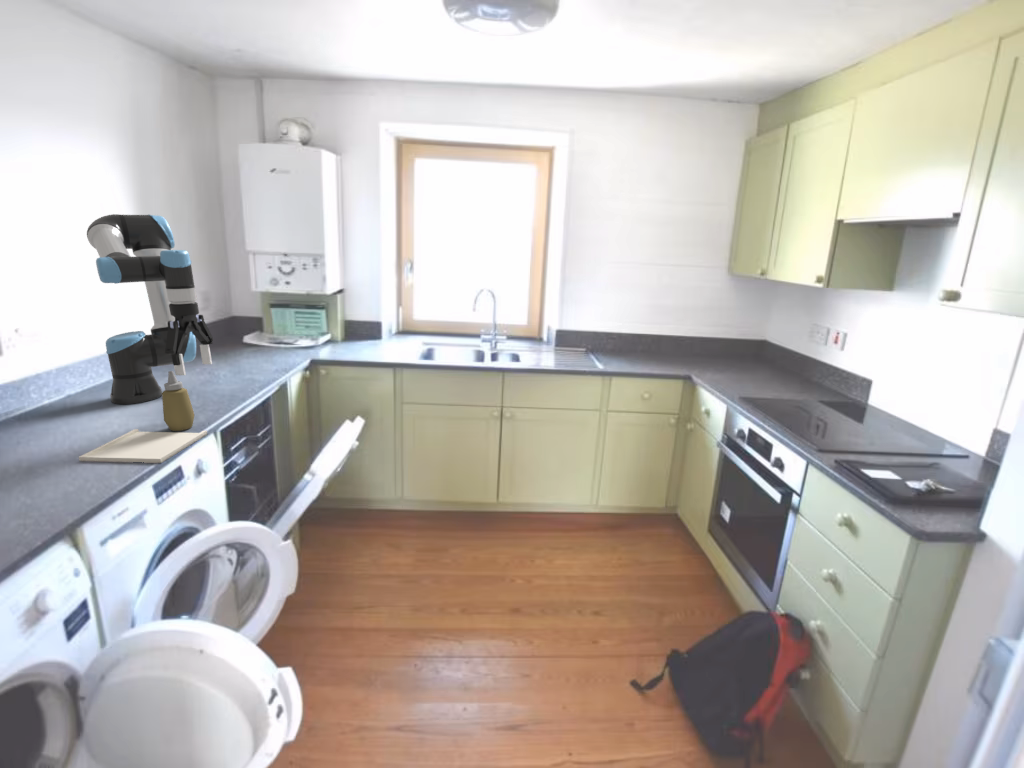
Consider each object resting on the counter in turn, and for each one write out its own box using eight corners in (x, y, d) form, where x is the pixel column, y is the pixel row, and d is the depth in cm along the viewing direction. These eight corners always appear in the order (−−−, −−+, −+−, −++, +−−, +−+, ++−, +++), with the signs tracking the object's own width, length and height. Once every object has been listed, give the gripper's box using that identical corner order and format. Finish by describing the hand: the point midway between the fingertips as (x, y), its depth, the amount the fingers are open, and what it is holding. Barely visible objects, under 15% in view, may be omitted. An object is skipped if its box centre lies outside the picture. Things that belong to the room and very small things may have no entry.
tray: (135, 432, 156) (135, 429, 155) (207, 434, 155) (206, 430, 154) (79, 461, 136) (78, 457, 136) (161, 463, 136) (160, 458, 135)
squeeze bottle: (192, 421, 165) (182, 366, 160) (199, 428, 159) (189, 371, 154) (162, 428, 160) (151, 371, 154) (169, 435, 154) (158, 376, 149)
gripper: (196, 297, 171) (206, 359, 177) (141, 307, 147) (155, 379, 153) (218, 297, 171) (228, 360, 177) (167, 307, 147) (180, 380, 153)
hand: (194, 369), depth 165 cm, fingers open, 13 cm apart
